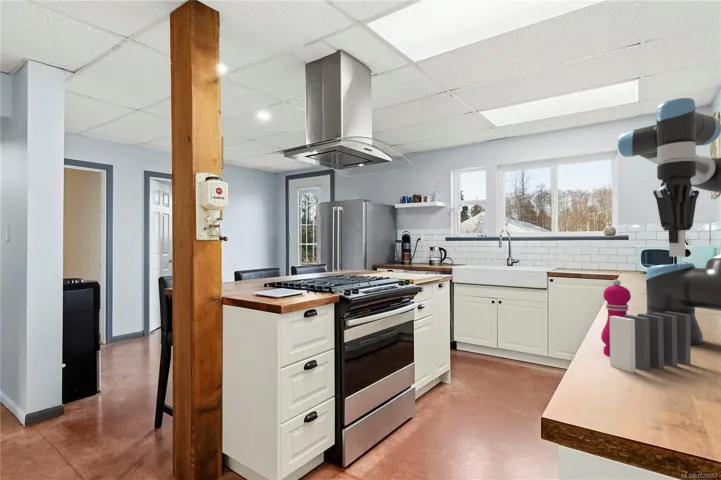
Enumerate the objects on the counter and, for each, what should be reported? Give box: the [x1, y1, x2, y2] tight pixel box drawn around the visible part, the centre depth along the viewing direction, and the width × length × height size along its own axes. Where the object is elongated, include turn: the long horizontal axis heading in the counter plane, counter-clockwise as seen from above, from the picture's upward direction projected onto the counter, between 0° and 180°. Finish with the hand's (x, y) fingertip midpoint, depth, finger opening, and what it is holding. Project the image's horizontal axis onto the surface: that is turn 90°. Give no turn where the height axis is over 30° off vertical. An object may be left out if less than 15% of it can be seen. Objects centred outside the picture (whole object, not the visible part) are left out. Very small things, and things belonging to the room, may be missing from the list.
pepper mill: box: [600, 279, 632, 357], centre depth 101 cm, size 7×7×20 cm
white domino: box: [609, 316, 636, 373], centre depth 91 cm, size 2×5×12 cm, turn 17°
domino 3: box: [651, 313, 678, 367], centre depth 95 cm, size 2×5×12 cm, turn 17°
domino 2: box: [636, 313, 665, 369], centre depth 93 cm, size 2×5×12 cm, turn 17°
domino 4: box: [664, 312, 692, 366], centre depth 96 cm, size 2×5×12 cm, turn 17°
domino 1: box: [624, 314, 651, 371], centre depth 92 cm, size 2×5×12 cm, turn 17°
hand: (677, 256), depth 96 cm, fingers closed
